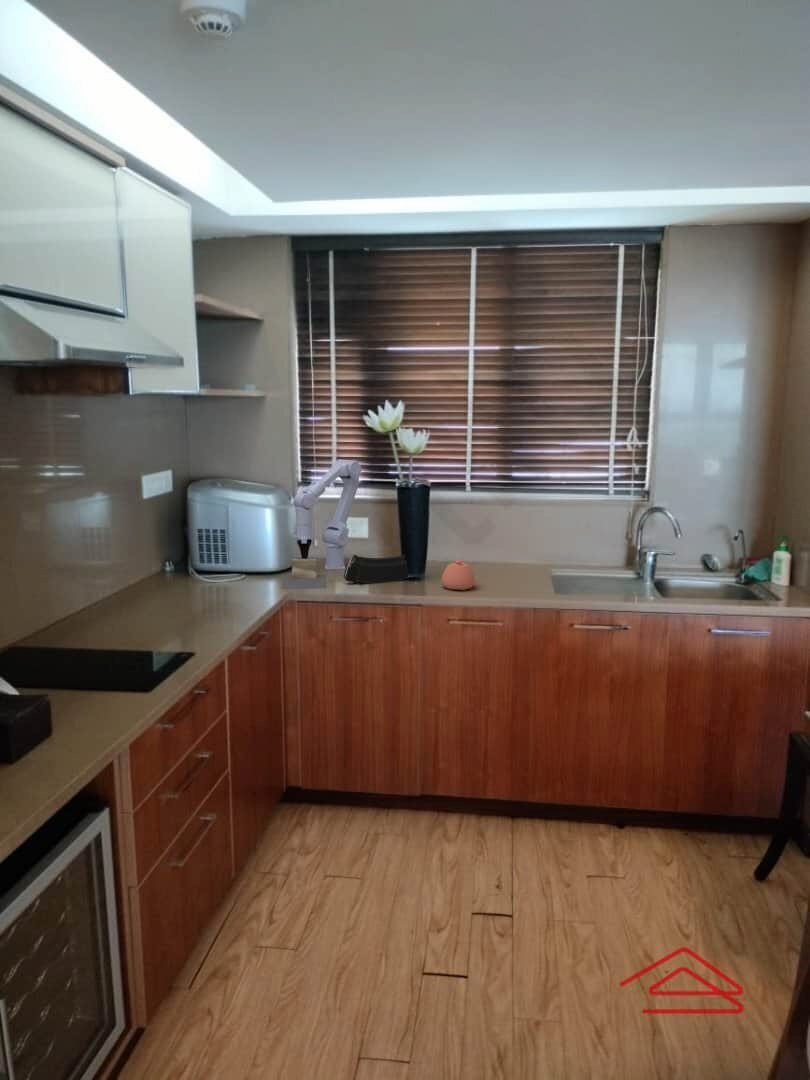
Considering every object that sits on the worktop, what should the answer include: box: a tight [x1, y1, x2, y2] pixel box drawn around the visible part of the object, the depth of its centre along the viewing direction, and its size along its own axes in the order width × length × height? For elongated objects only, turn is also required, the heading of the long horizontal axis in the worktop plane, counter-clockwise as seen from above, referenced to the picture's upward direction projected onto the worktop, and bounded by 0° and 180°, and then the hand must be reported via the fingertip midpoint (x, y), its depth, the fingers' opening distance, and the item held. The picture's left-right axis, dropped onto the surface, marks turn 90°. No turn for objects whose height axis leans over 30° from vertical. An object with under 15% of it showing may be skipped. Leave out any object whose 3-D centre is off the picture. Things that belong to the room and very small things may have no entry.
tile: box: [291, 558, 317, 579], centre depth 282 cm, size 2×9×7 cm, turn 97°
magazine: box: [343, 554, 408, 585], centre depth 279 cm, size 17×3×30 cm
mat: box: [280, 574, 327, 590], centre depth 277 cm, size 22×16×1 cm
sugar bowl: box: [441, 559, 476, 591], centre depth 271 cm, size 12×14×10 cm
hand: (304, 558), depth 290 cm, fingers closed
